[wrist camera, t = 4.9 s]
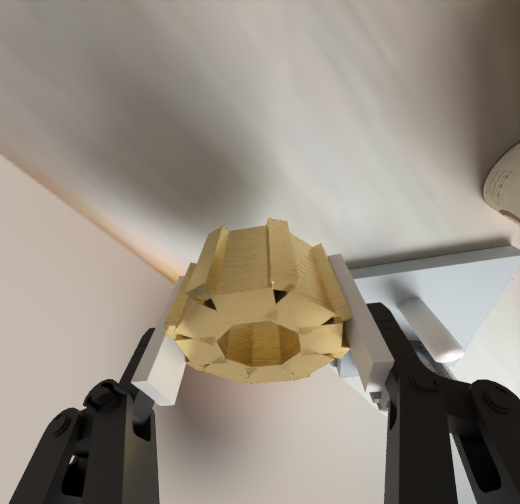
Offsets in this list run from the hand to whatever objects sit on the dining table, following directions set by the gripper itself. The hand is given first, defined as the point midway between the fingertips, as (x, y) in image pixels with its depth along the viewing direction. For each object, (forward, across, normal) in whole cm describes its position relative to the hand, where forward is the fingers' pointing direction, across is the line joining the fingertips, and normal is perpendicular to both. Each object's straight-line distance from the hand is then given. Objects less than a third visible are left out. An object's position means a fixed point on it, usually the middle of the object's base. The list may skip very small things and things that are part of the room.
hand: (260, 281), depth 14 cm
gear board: (+6, +15, -16) cm, 23 cm away
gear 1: (0, 0, 0) cm, 0 cm away
